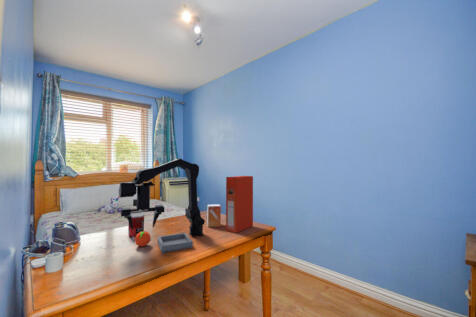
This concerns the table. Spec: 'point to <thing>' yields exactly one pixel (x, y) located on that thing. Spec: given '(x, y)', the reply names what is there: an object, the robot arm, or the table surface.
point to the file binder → (239, 203)
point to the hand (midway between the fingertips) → (143, 228)
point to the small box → (213, 215)
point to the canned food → (136, 224)
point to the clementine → (142, 238)
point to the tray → (174, 242)
